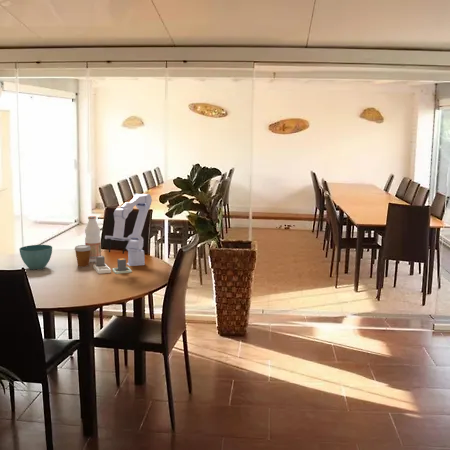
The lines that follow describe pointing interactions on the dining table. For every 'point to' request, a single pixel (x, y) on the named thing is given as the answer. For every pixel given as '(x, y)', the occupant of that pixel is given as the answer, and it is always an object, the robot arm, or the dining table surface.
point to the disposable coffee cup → (83, 255)
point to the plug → (121, 264)
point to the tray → (121, 271)
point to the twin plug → (100, 261)
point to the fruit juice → (93, 238)
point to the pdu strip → (102, 269)
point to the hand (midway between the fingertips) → (116, 253)
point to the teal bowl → (36, 255)
